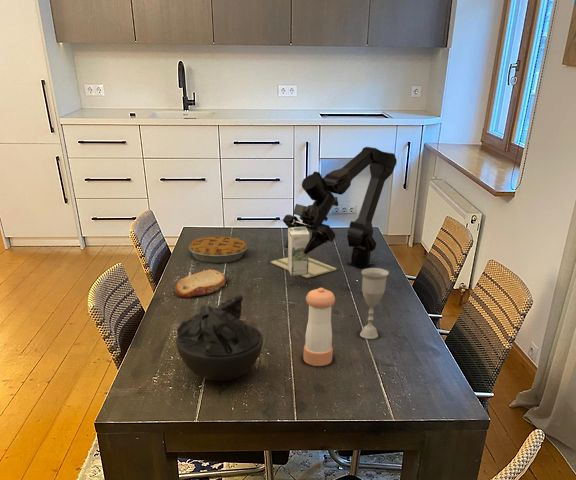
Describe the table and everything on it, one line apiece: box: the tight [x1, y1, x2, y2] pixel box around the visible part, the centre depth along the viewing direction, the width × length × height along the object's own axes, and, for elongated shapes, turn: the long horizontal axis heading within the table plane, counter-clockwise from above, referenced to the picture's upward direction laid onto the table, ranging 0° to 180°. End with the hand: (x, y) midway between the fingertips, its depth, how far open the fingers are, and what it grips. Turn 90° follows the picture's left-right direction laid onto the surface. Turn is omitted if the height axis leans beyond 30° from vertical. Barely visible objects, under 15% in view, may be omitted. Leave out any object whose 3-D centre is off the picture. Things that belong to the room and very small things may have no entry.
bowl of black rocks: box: [175, 294, 264, 382], centre depth 136 cm, size 20×20×19 cm
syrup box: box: [287, 226, 311, 277], centre depth 187 cm, size 6×6×14 cm
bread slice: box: [174, 269, 227, 299], centre depth 190 cm, size 18×18×4 cm
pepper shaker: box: [302, 287, 336, 367], centre depth 144 cm, size 7×7×19 cm
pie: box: [188, 235, 248, 264], centre depth 218 cm, size 22×22×5 cm
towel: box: [270, 256, 338, 279], centre depth 210 cm, size 14×20×1 cm
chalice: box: [359, 267, 390, 340], centre depth 157 cm, size 7×7×18 cm
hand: (295, 250), depth 185 cm, fingers closed on syrup box, 8 cm apart
